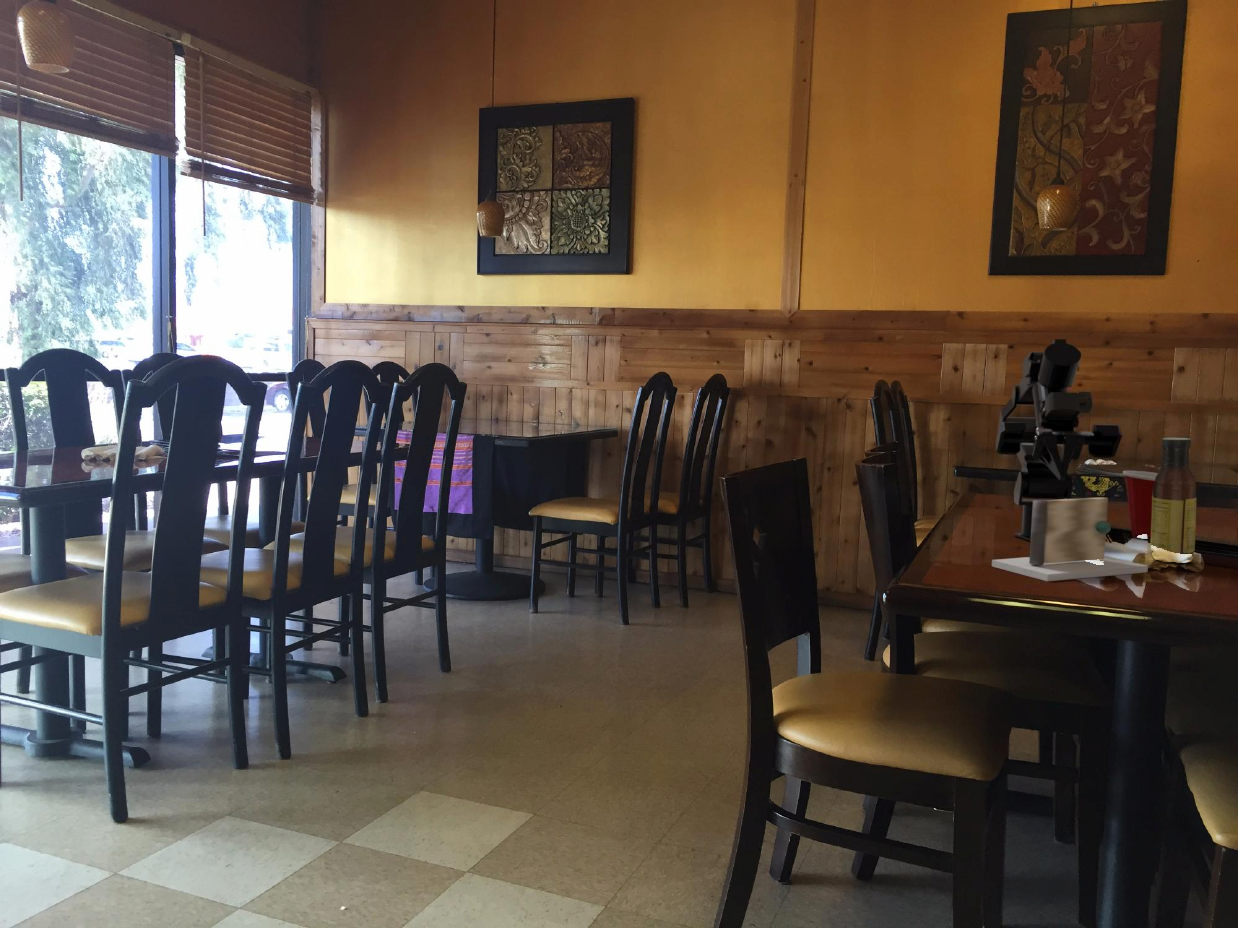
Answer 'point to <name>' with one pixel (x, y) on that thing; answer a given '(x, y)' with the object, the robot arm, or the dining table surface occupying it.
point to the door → (1068, 530)
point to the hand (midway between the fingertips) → (1062, 478)
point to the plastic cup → (1140, 500)
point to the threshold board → (1069, 568)
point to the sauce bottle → (1174, 499)
